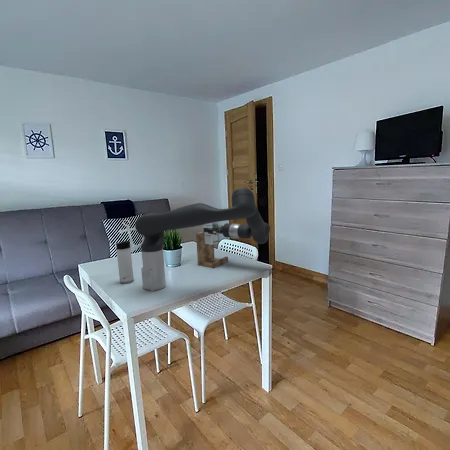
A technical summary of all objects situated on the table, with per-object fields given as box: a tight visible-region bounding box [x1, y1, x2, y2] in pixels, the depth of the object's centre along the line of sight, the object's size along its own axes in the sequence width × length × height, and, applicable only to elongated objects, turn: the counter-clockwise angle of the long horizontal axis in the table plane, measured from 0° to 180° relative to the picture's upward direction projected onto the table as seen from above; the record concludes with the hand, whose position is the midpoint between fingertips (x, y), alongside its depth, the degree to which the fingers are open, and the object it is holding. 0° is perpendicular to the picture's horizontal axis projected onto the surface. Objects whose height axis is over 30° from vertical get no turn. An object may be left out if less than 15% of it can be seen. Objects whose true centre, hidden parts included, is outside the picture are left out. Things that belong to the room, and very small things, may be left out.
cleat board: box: [195, 230, 229, 269], centre depth 156 cm, size 14×11×18 cm
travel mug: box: [115, 240, 135, 285], centre depth 132 cm, size 6×7×20 cm
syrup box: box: [203, 222, 220, 245], centre depth 154 cm, size 6×6×14 cm
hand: (207, 228), depth 155 cm, fingers closed on syrup box, 6 cm apart
